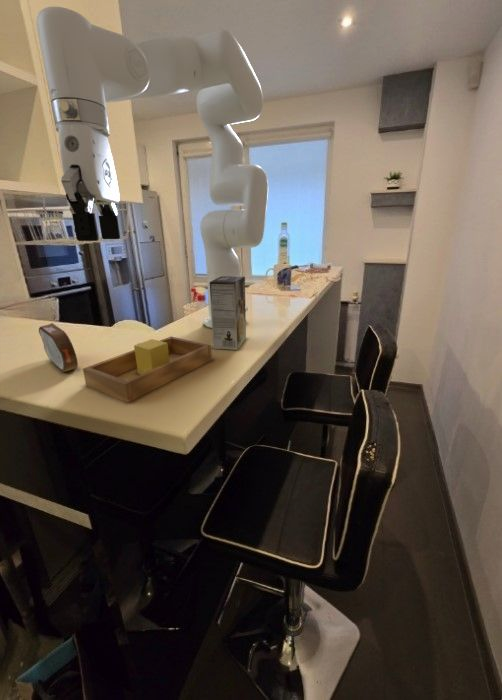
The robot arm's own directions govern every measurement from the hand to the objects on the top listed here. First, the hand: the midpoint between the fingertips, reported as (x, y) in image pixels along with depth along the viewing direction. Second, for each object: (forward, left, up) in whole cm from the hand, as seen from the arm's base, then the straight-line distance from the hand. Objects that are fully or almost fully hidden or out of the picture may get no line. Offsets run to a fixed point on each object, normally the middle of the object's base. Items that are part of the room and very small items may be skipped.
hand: (100, 239), depth 56 cm
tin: (+4, -15, -26) cm, 30 cm away
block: (-4, +4, -25) cm, 26 cm away
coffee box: (-26, +7, -26) cm, 37 cm away
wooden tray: (-4, +4, -25) cm, 26 cm away
